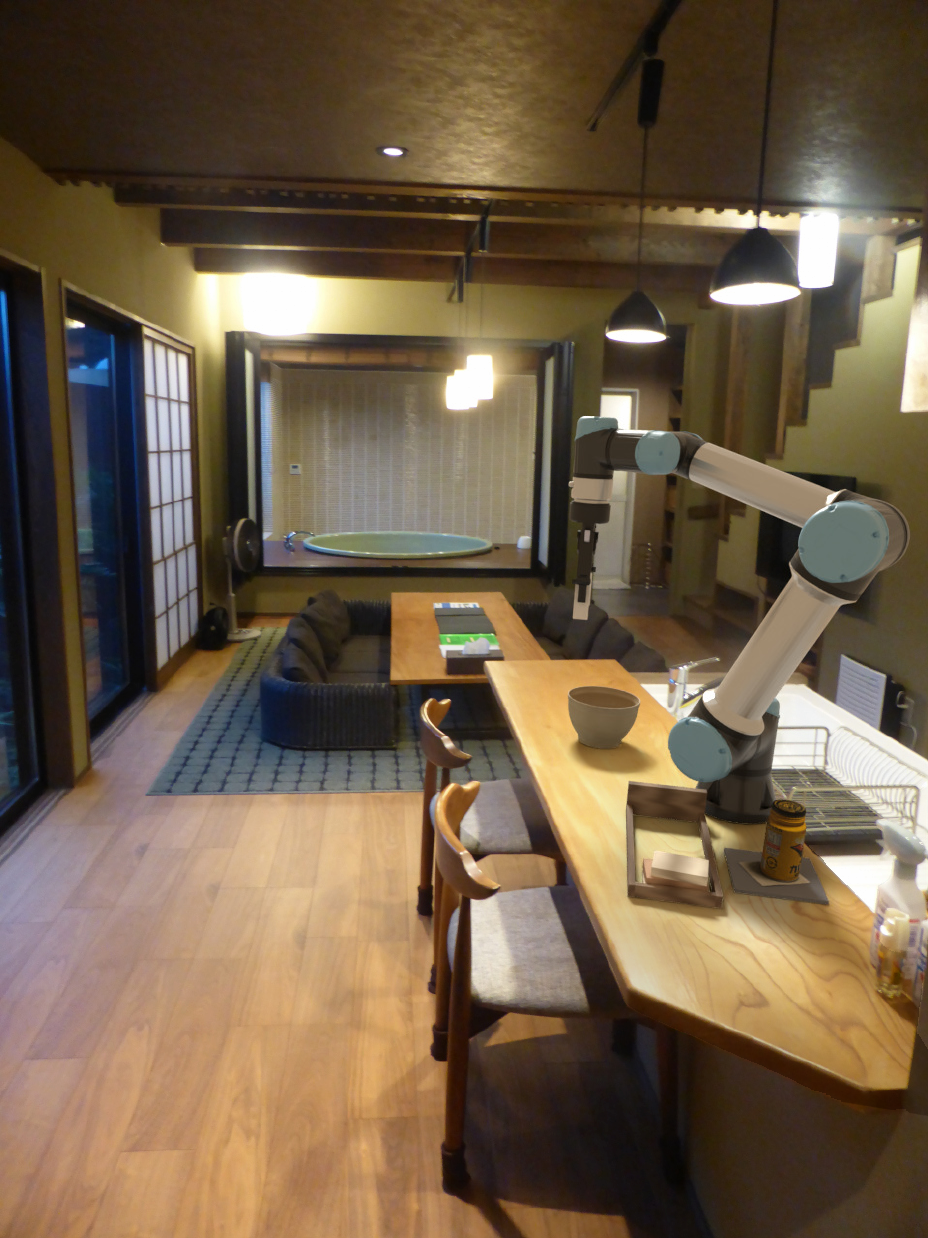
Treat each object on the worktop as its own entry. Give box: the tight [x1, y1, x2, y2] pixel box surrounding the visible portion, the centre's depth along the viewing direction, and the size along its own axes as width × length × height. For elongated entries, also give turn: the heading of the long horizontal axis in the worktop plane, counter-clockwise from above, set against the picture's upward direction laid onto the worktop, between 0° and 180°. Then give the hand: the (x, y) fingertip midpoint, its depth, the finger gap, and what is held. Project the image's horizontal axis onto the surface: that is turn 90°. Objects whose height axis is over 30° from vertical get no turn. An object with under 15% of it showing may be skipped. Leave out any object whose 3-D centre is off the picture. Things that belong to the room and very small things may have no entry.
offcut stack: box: [641, 849, 711, 892], centre depth 137 cm, size 10×7×5 cm
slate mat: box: [723, 846, 830, 906], centre depth 142 cm, size 14×14×1 cm
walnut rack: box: [625, 780, 724, 909], centre depth 147 cm, size 14×31×6 cm, turn 170°
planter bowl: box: [567, 685, 641, 750], centre depth 198 cm, size 16×16×11 cm
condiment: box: [739, 798, 810, 886], centre depth 141 cm, size 7×8×12 cm
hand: (581, 611), depth 169 cm, fingers open, 13 cm apart
